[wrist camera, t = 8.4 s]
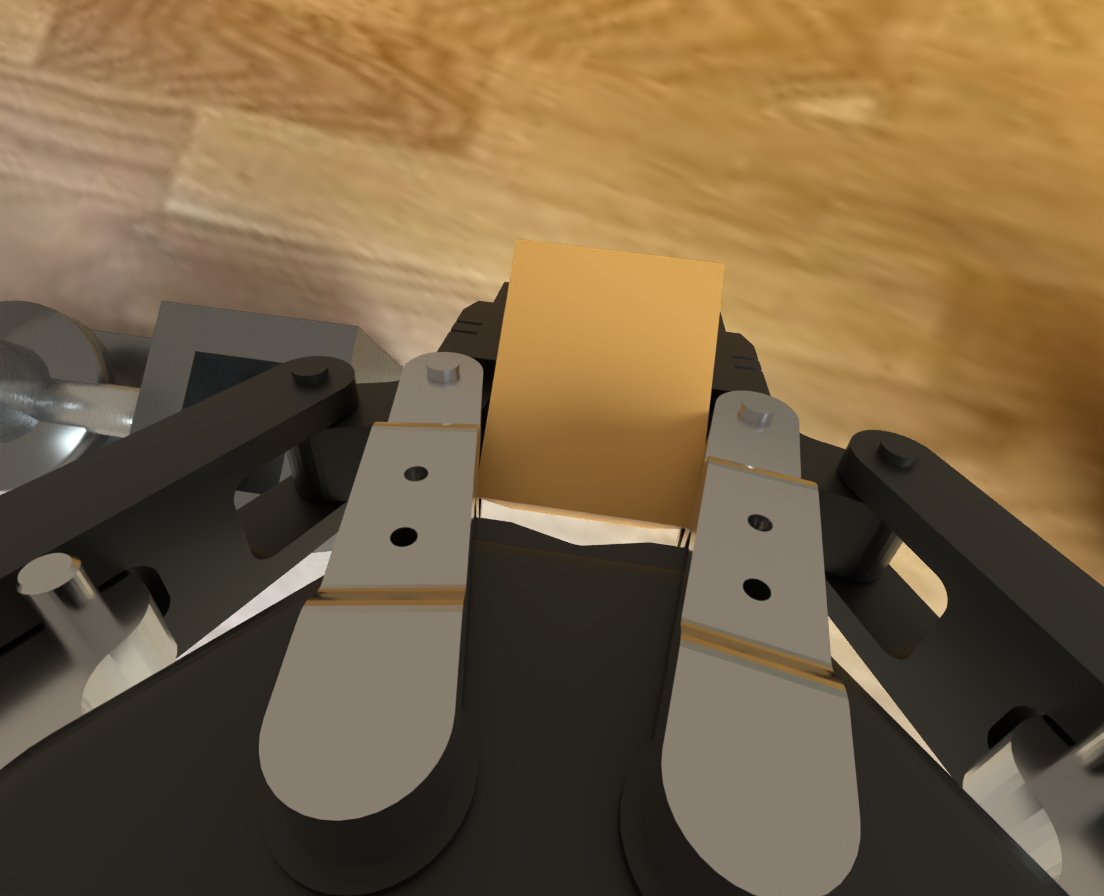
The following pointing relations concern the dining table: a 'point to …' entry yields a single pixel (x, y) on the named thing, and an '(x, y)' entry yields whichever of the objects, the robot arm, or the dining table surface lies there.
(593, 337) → the orange block
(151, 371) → the bracket post
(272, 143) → the dining table surface
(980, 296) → the dining table surface
